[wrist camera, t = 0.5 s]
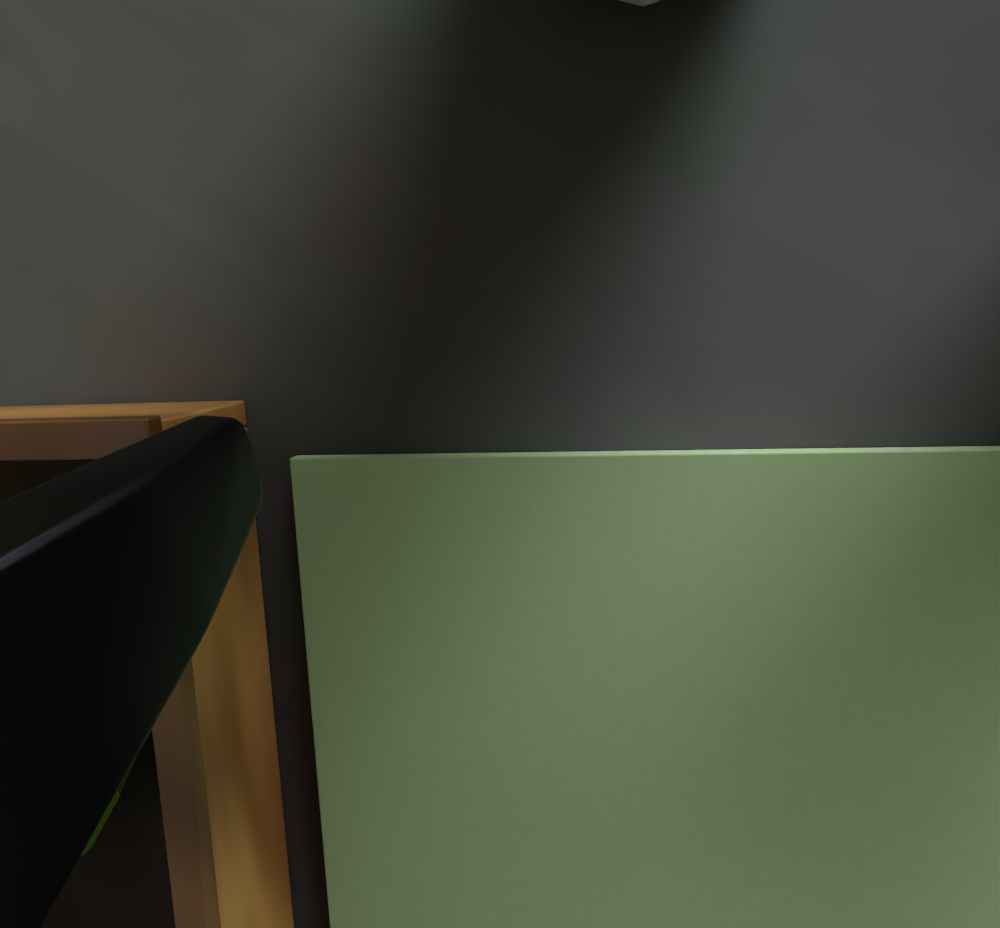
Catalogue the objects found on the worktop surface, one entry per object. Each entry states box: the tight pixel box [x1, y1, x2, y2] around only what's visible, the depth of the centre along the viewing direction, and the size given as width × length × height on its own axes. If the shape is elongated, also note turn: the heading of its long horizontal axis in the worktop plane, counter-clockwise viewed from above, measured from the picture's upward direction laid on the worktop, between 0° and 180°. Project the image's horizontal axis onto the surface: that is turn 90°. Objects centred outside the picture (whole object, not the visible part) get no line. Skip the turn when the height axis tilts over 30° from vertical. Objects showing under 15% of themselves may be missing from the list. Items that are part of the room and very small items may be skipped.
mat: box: [290, 446, 1000, 928], centre depth 23 cm, size 16×24×1 cm, turn 93°
